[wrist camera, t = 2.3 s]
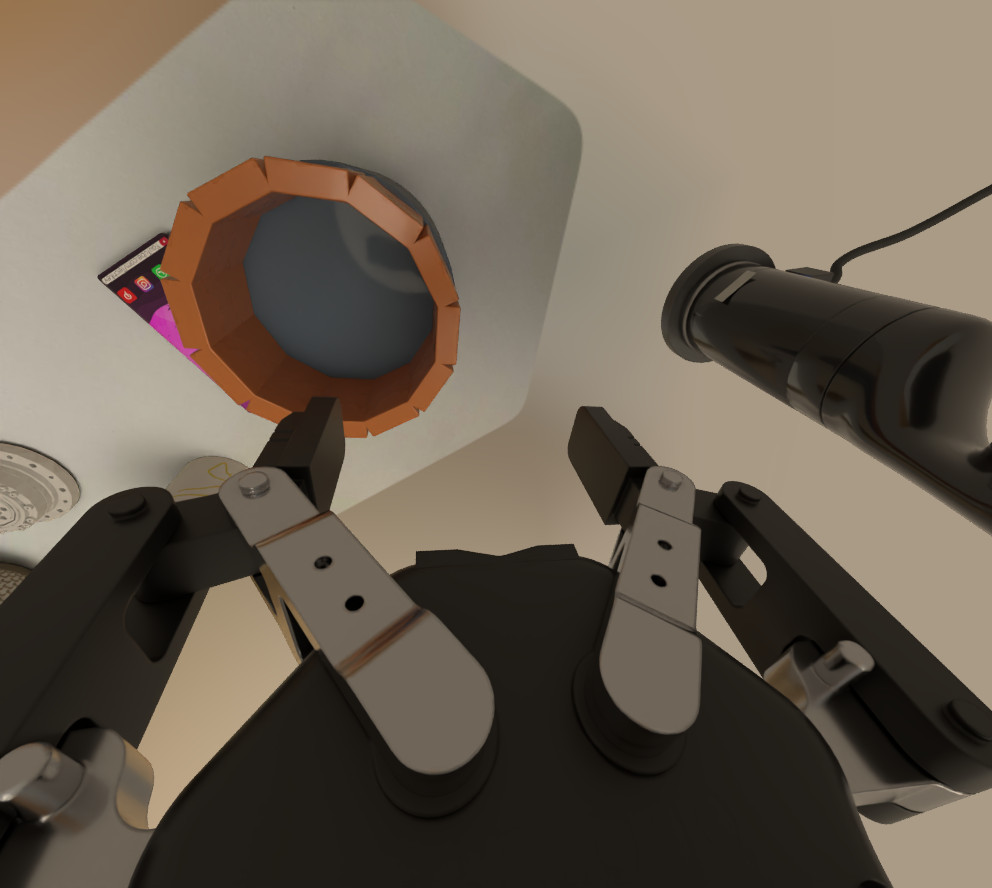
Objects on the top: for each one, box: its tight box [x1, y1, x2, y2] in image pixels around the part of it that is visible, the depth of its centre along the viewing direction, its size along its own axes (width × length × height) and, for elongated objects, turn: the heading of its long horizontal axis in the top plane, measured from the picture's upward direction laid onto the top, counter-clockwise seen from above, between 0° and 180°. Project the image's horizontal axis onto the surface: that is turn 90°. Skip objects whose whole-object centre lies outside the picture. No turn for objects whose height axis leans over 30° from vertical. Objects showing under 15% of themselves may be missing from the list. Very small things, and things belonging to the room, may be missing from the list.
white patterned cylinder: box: [166, 456, 249, 502], centre depth 39 cm, size 8×8×12 cm
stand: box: [243, 160, 455, 380], centre depth 28 cm, size 14×14×12 cm
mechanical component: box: [0, 443, 80, 534], centre depth 37 cm, size 10×4×10 cm
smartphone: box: [98, 233, 251, 413], centre depth 34 cm, size 7×15×1 cm, turn 26°
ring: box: [160, 156, 460, 438], centre depth 21 cm, size 13×13×6 cm
